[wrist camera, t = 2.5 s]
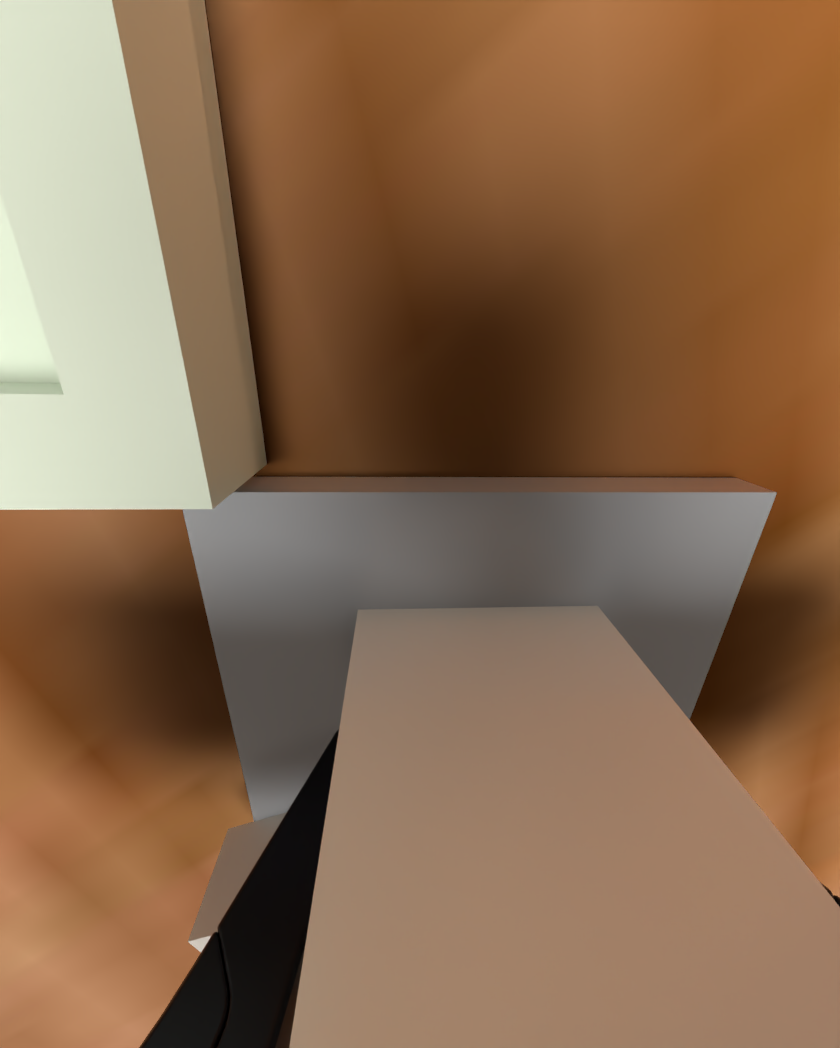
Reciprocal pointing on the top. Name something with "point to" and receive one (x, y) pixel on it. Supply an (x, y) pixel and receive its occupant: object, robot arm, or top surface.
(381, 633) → the large white cube
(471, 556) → the slate board
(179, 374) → the bin
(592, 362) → the top surface
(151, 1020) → the top surface
